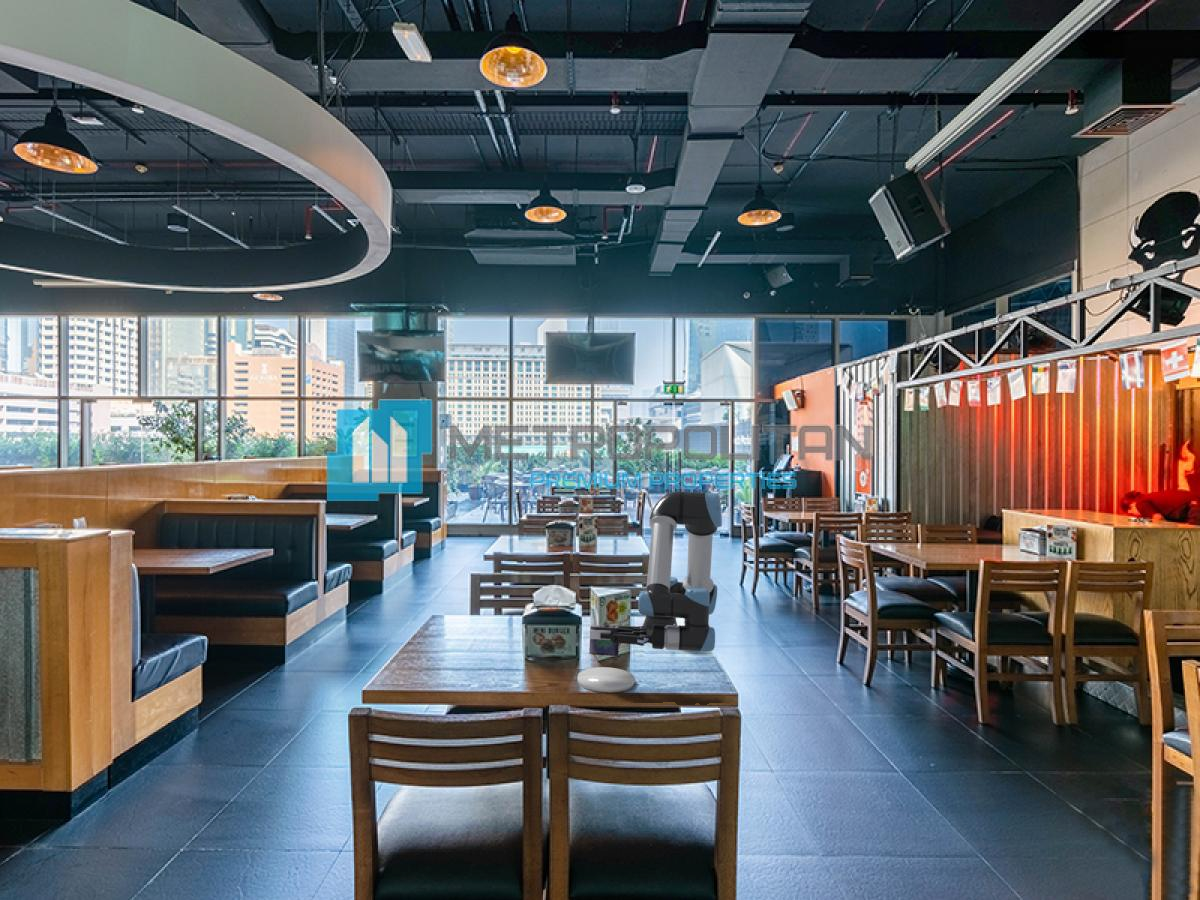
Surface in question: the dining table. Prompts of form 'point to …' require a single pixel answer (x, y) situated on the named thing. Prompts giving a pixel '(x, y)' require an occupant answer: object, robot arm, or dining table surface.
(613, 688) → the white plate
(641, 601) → the robot arm
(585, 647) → the dining table surface
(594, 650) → the flask
